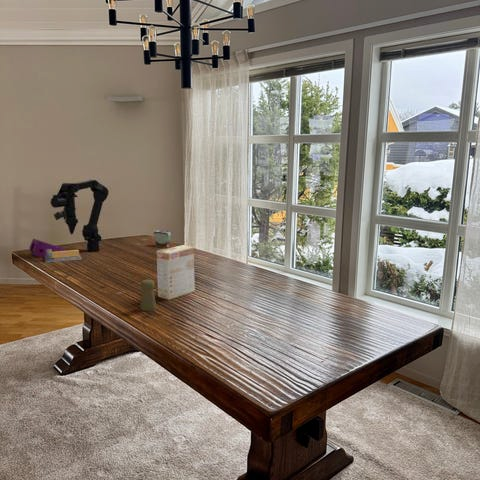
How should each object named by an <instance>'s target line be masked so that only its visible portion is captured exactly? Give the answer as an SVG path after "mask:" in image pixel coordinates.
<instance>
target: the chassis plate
mask: <svg viewBox="0 0 480 480" xmlns="http://www.w3.org/2000/svg"><path fill="white" fill-rule="evenodd" d="M44 260H45V261H44V262H45V263H56V262H58V263H59V262H65V261H66V262H67V261H68V262H69V260H70V261H78V260H82V256H81V254H80V253H79V256H72V257H60V258H52V259H47V258H46V255H45V257H44Z"/></svg>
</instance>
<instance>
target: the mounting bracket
mask: <svg viewBox="0 0 480 480" xmlns="http://www.w3.org/2000/svg"><path fill="white" fill-rule="evenodd" d="M46 249H51V250H52V251H54V252H56V251H67V249H65V248H63V247H60V246H57V245H54V244H53V243H52V244H51V243H49V242H45V241H42V240H39V239H35V238H32V240H31V243H30V246H29V251H30V253H31V254H33V255H34V256H35V257H37V258H45V255H46Z"/></svg>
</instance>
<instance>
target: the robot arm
mask: <svg viewBox="0 0 480 480" xmlns="http://www.w3.org/2000/svg"><path fill="white" fill-rule="evenodd" d="M86 189H90V191H91V192H93V194H92V197H93V204H92V208H91V212H90V215H89V219H88V223H86V224H84V225H83V227H82V230H81V233H82V235H81V236H83V239H84V241H87V242H86V243H85V244H86V245H85V246H86V251H87V252H88V253H93V252H100V242H101V241H102V238H103V237H102V236H101V235H100V234H99V228H98V224H99V219H100V216H101V215H100V214H101V211H102V208H103V204H104V202H105V201H106V200H107V199H108V195H109V192H110V191H109V189H108V188H107V187H106V186H105V185H103V184H101V183H100V182H99V181H98V180H96V179H89V180H84V181H79V182H74V183H73V182H63V183H61V186H60V188H59V191H58V192H57V194H52V197H51V199H50V206H51V207H52V208H54V209H56V208H63V209H62V210H60V211H57V212H54V213H53V214H52V215H53V217H54V218H55V221H58V220H60V219H62V218H63V221H64V222H65V225H67V227H68V230H69V234H70V235H74V232H75V230H76V228H77V224H78V223H79V218H77V215H76V214H77V213H76V210H77V209H76V198H78V197H79V196H78V195H77V194H76V193H78V192H79V191H81V190H86Z"/></svg>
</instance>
